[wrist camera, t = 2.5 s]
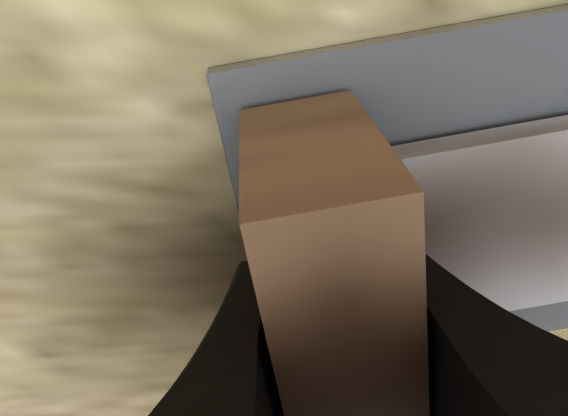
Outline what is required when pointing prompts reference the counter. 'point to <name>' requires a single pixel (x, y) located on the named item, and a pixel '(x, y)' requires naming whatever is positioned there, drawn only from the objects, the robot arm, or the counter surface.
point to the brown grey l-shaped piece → (388, 242)
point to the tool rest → (420, 87)
